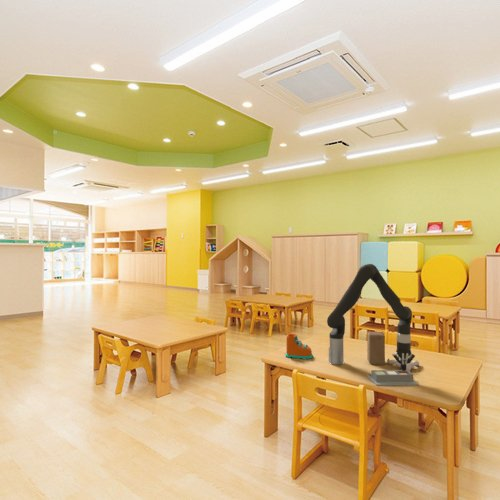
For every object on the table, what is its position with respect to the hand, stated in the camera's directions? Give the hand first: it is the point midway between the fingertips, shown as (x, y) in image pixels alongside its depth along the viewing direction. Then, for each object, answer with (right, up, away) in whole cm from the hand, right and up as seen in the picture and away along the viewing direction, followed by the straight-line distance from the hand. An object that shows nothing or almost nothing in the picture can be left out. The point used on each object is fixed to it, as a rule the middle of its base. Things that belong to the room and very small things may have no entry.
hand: (403, 370), depth 199 cm
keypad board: (-7, -6, 0) cm, 9 cm away
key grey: (-7, -4, 0) cm, 8 cm away
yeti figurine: (+11, -7, +23) cm, 26 cm away
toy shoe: (-55, -7, +46) cm, 71 cm away
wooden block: (-4, -6, +32) cm, 33 cm away
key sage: (-14, -4, 0) cm, 14 cm away
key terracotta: (0, -5, 0) cm, 5 cm away
